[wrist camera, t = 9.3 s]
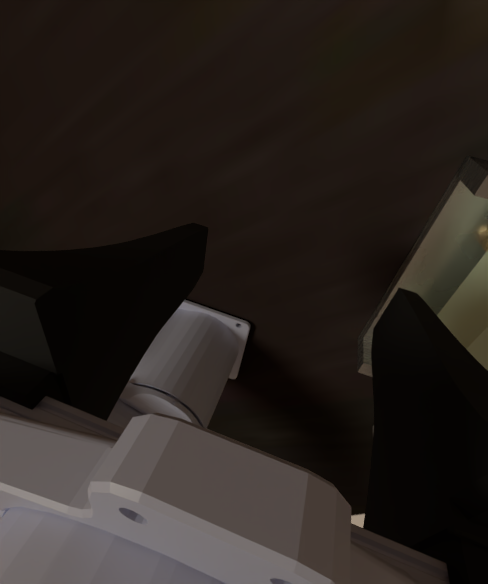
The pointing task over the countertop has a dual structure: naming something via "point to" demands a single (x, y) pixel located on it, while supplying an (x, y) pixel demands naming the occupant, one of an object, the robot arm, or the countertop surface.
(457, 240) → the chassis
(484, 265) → the board
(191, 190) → the countertop surface
